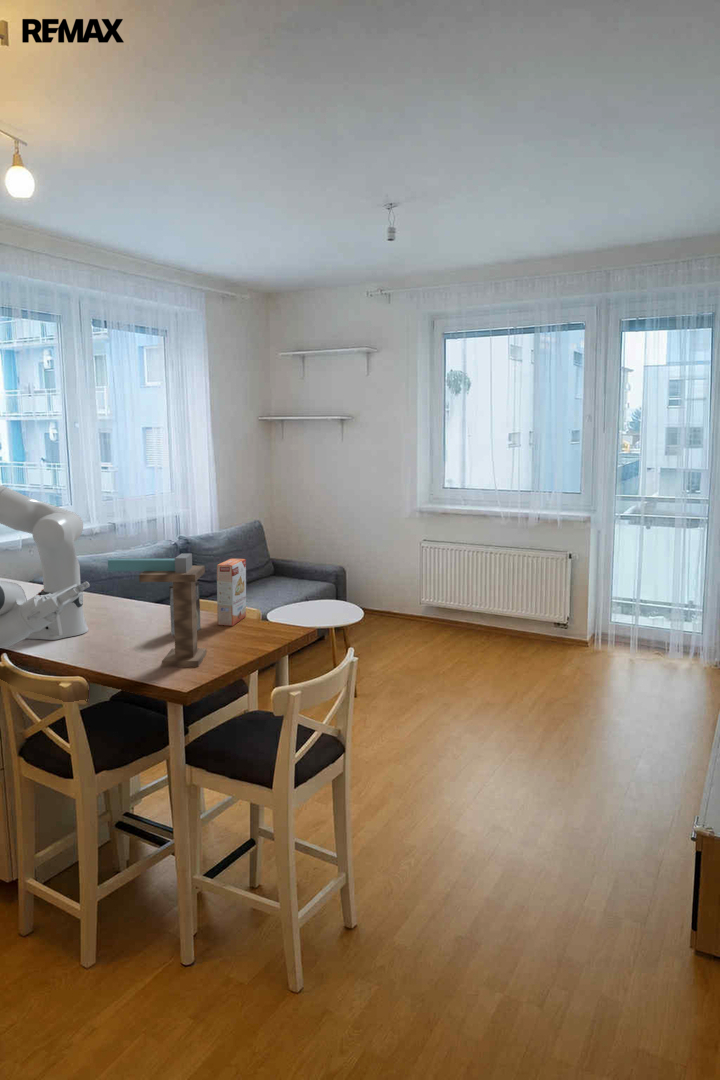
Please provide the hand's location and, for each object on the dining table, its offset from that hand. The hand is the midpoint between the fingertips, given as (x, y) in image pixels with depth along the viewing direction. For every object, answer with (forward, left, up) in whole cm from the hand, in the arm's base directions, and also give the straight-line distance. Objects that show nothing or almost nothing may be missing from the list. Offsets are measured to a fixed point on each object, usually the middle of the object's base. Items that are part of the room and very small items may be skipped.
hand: (82, 587), depth 203 cm
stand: (+25, 0, -21) cm, 33 cm away
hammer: (+19, 0, +5) cm, 20 cm away
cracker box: (+35, +44, -21) cm, 60 cm away
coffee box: (+22, +30, -21) cm, 43 cm away
